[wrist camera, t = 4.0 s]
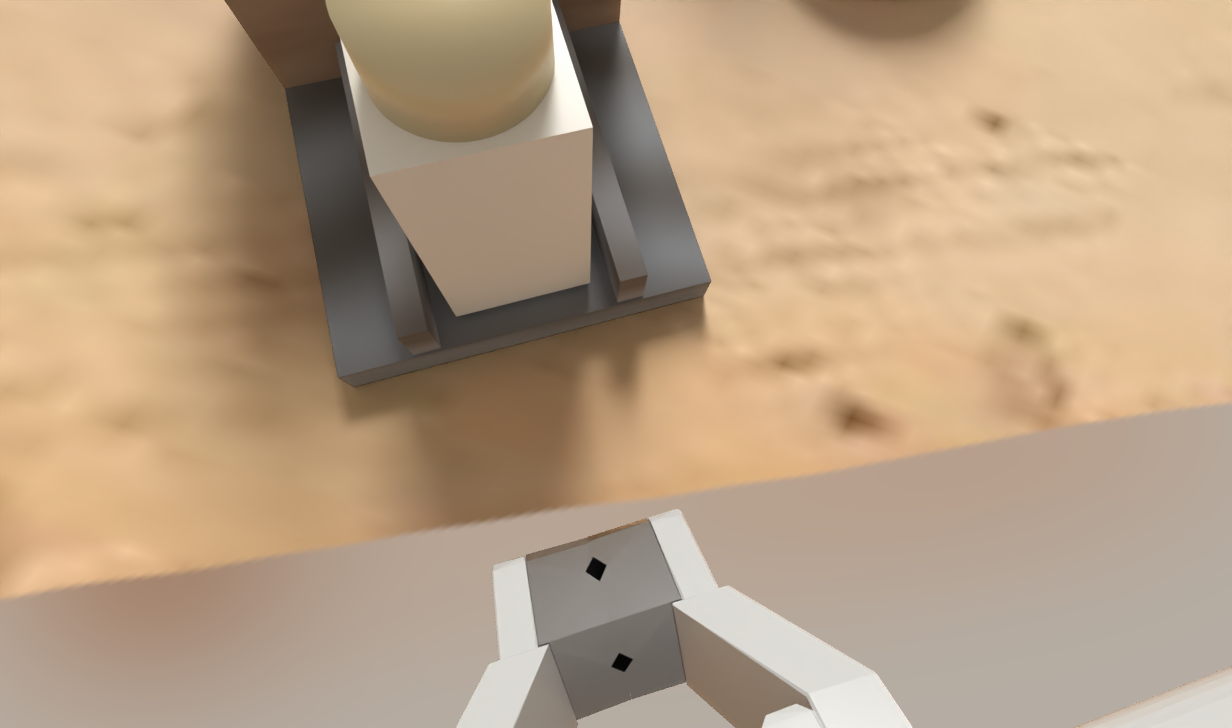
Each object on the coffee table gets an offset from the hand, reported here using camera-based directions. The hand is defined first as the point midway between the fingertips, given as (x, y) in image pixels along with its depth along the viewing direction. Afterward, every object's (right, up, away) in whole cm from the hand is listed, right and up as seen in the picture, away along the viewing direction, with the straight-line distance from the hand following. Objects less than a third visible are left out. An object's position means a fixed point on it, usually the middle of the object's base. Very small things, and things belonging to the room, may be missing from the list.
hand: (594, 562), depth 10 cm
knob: (-4, +8, +13) cm, 16 cm away
